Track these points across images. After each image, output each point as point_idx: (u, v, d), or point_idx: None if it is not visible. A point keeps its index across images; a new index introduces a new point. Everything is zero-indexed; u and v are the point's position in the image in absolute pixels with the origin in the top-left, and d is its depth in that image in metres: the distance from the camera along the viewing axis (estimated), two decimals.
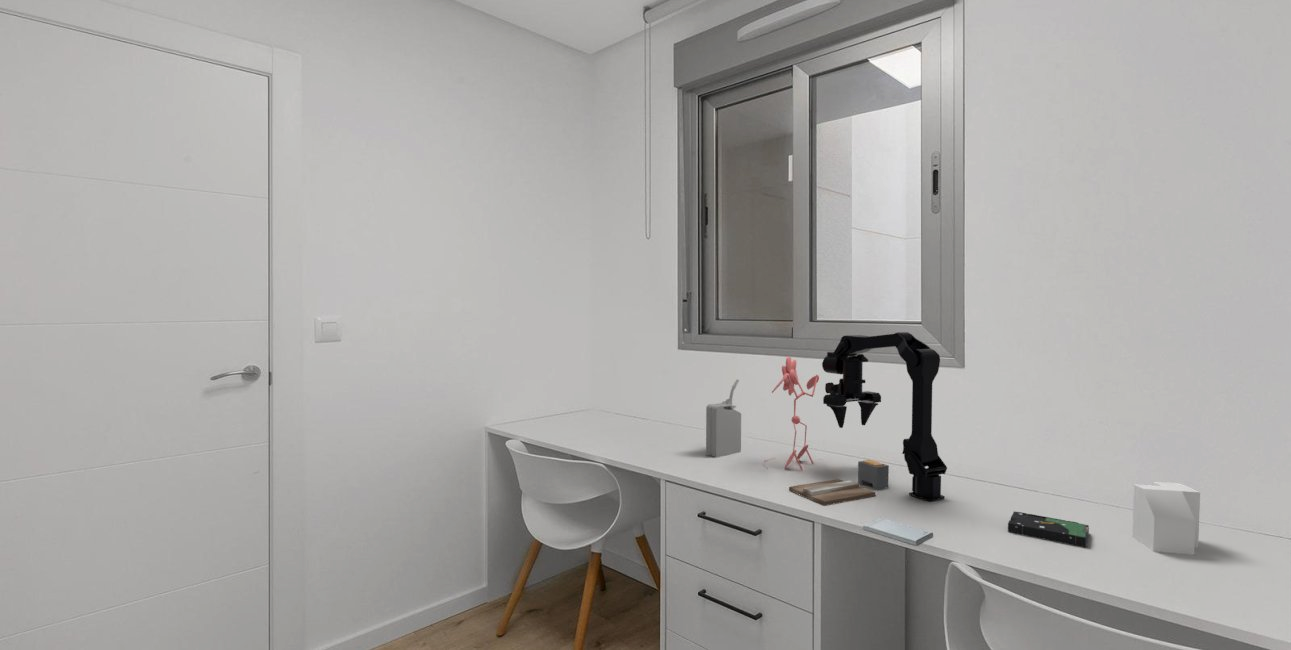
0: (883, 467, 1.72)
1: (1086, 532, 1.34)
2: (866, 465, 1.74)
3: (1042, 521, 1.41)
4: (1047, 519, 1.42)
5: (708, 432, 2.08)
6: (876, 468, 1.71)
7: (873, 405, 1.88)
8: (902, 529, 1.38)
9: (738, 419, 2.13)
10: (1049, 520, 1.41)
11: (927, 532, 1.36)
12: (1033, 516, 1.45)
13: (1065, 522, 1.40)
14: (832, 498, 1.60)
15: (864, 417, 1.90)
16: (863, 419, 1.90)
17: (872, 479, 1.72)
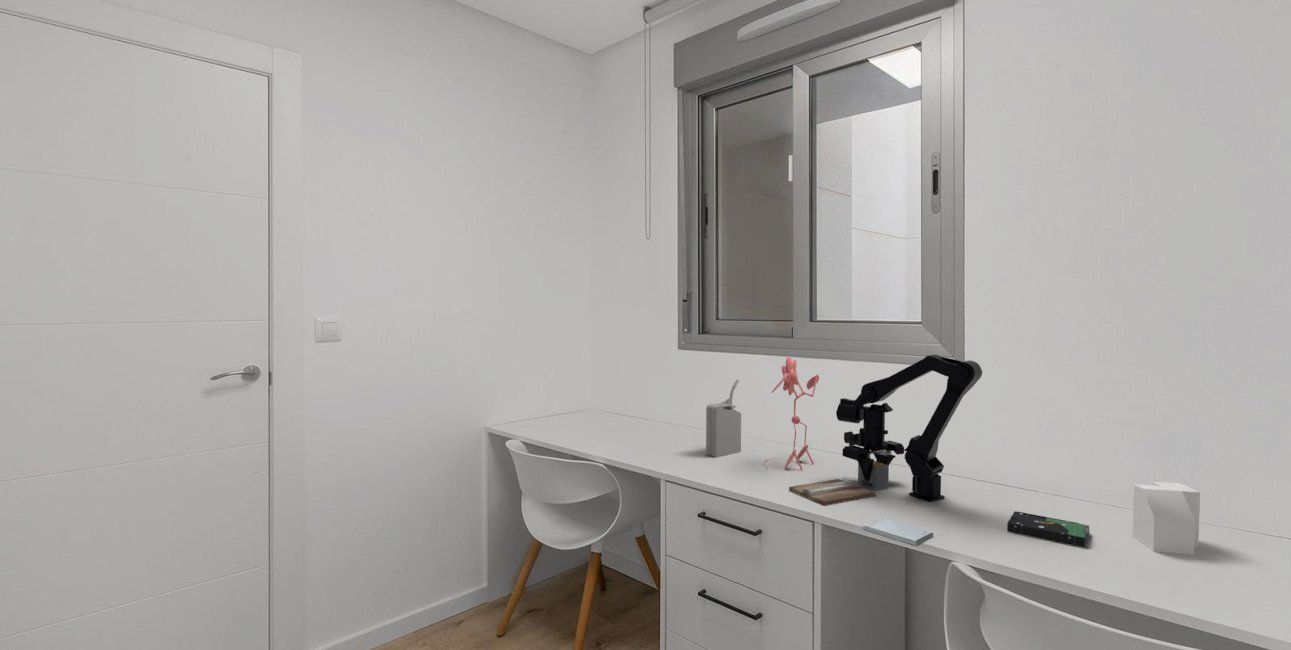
0: (883, 467, 1.72)
1: (1086, 532, 1.34)
2: None
3: (1042, 521, 1.41)
4: (1047, 519, 1.42)
5: (708, 432, 2.08)
6: (876, 468, 1.71)
7: (890, 458, 1.74)
8: (902, 529, 1.38)
9: (738, 419, 2.13)
10: (1049, 520, 1.41)
11: (927, 532, 1.36)
12: (1034, 516, 1.45)
13: (1065, 522, 1.40)
14: (832, 498, 1.60)
15: None
16: None
17: (872, 479, 1.72)
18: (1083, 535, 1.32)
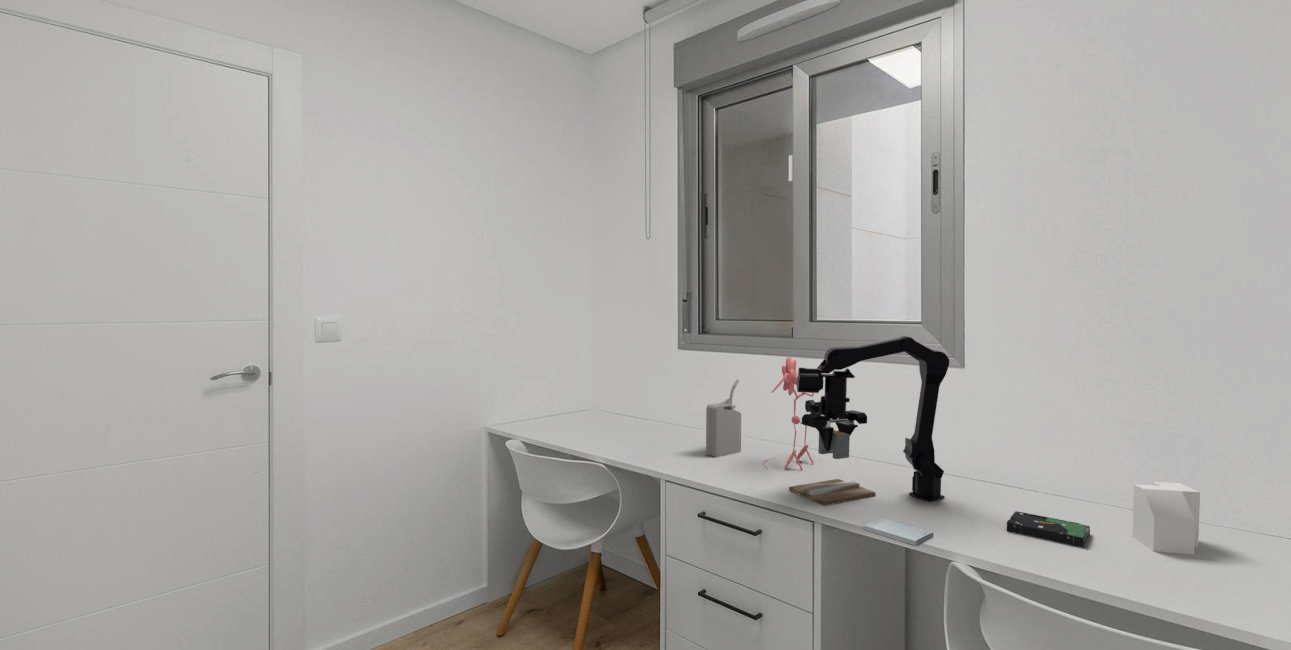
0: (843, 436, 1.65)
1: (1085, 533, 1.33)
2: None
3: (1042, 521, 1.41)
4: (1048, 519, 1.42)
5: (708, 432, 2.08)
6: (836, 437, 1.64)
7: (852, 427, 1.67)
8: (902, 530, 1.38)
9: (738, 419, 2.13)
10: (1050, 520, 1.41)
11: (927, 532, 1.36)
12: (1034, 516, 1.44)
13: (1066, 522, 1.40)
14: (832, 498, 1.60)
15: None
16: None
17: (832, 448, 1.65)
18: (1082, 535, 1.32)
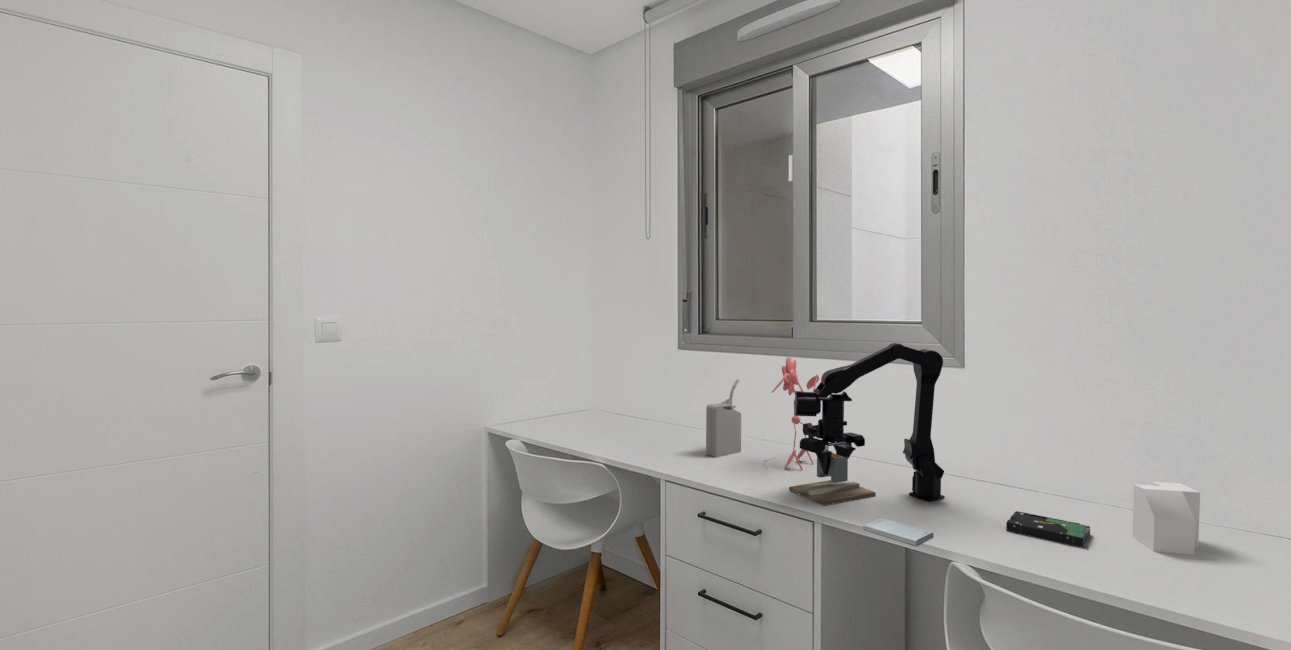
0: (842, 459, 1.64)
1: (1085, 533, 1.33)
2: None
3: (1042, 521, 1.41)
4: (1048, 519, 1.42)
5: (708, 432, 2.08)
6: (834, 460, 1.64)
7: (850, 450, 1.66)
8: (902, 530, 1.38)
9: (738, 419, 2.13)
10: (1050, 520, 1.41)
11: (927, 532, 1.36)
12: (1034, 516, 1.44)
13: (1066, 523, 1.40)
14: (832, 498, 1.60)
15: None
16: None
17: (830, 472, 1.65)
18: (1082, 535, 1.32)
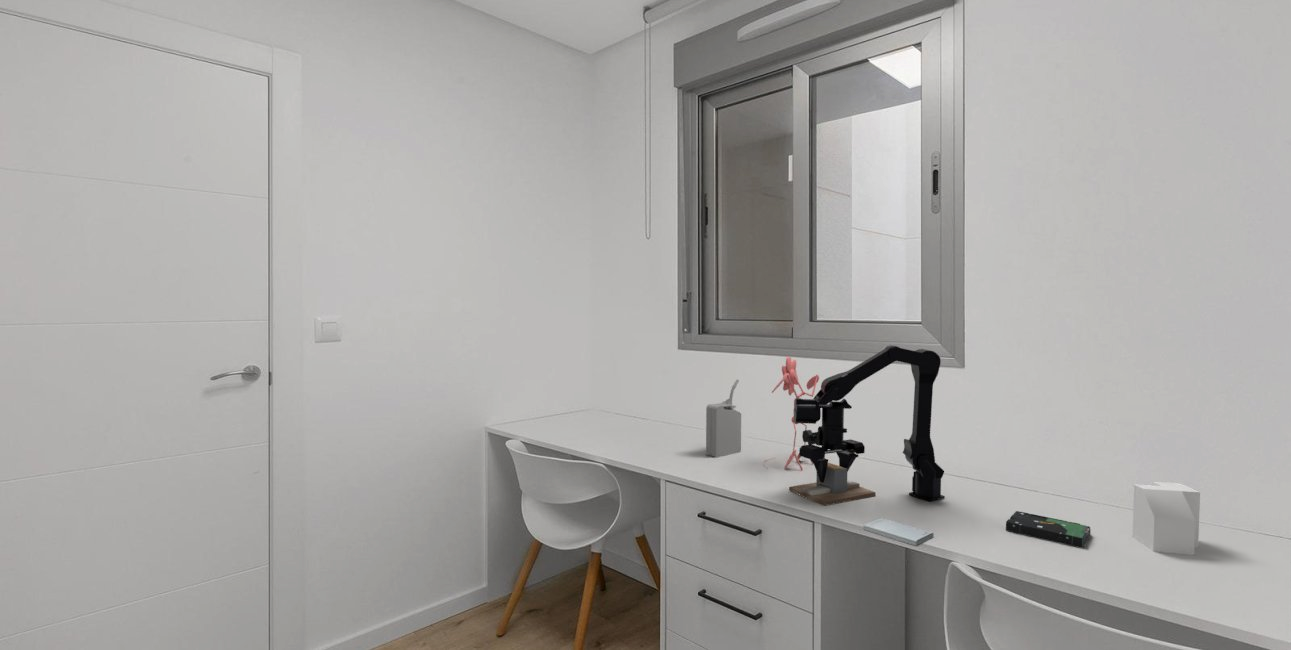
0: (841, 470, 1.64)
1: (1085, 533, 1.33)
2: None
3: (1042, 521, 1.41)
4: (1048, 519, 1.42)
5: (708, 432, 2.08)
6: (834, 471, 1.64)
7: (853, 457, 1.67)
8: (902, 530, 1.38)
9: (738, 419, 2.13)
10: (1050, 520, 1.41)
11: (927, 532, 1.36)
12: (1035, 516, 1.44)
13: (1066, 523, 1.40)
14: (832, 498, 1.60)
15: None
16: None
17: (830, 483, 1.65)
18: (1081, 535, 1.32)
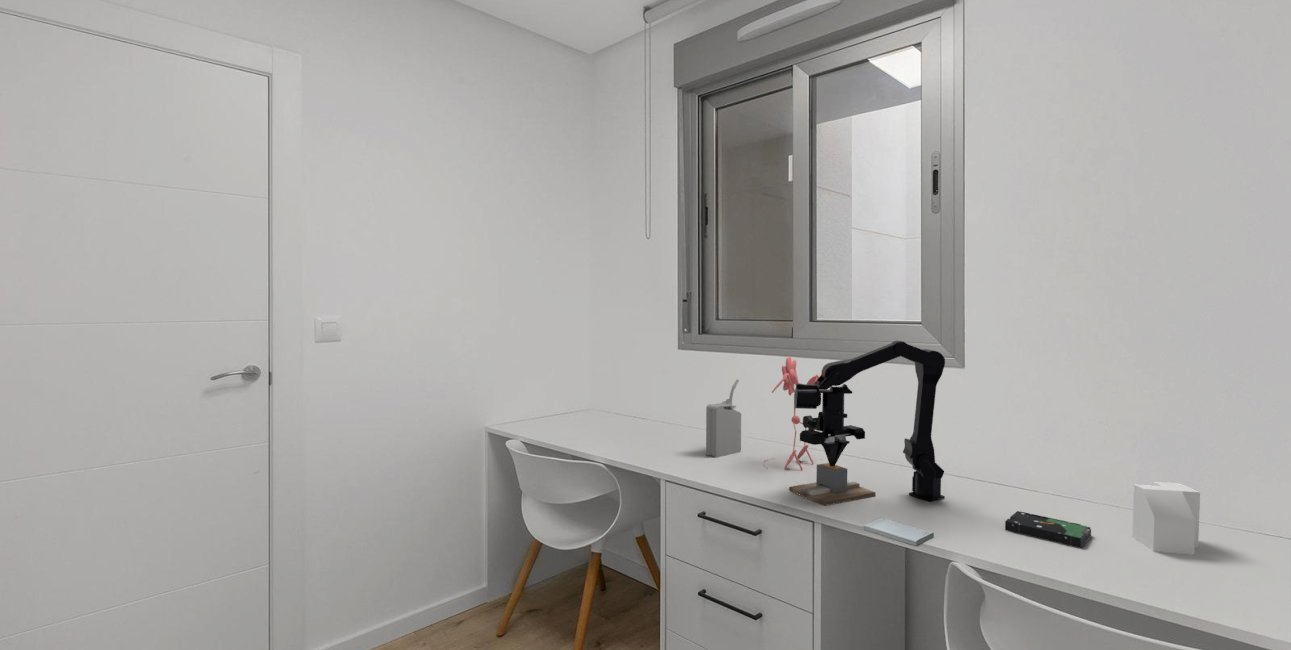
0: (841, 470, 1.64)
1: (1084, 533, 1.33)
2: (824, 468, 1.67)
3: (1042, 521, 1.41)
4: (1049, 520, 1.42)
5: (708, 432, 2.08)
6: (834, 471, 1.64)
7: (844, 444, 1.65)
8: (902, 530, 1.38)
9: (738, 419, 2.13)
10: (1050, 521, 1.41)
11: (928, 532, 1.36)
12: (1035, 516, 1.44)
13: (1067, 523, 1.39)
14: (832, 498, 1.60)
15: None
16: None
17: (830, 483, 1.65)
18: (1080, 536, 1.32)
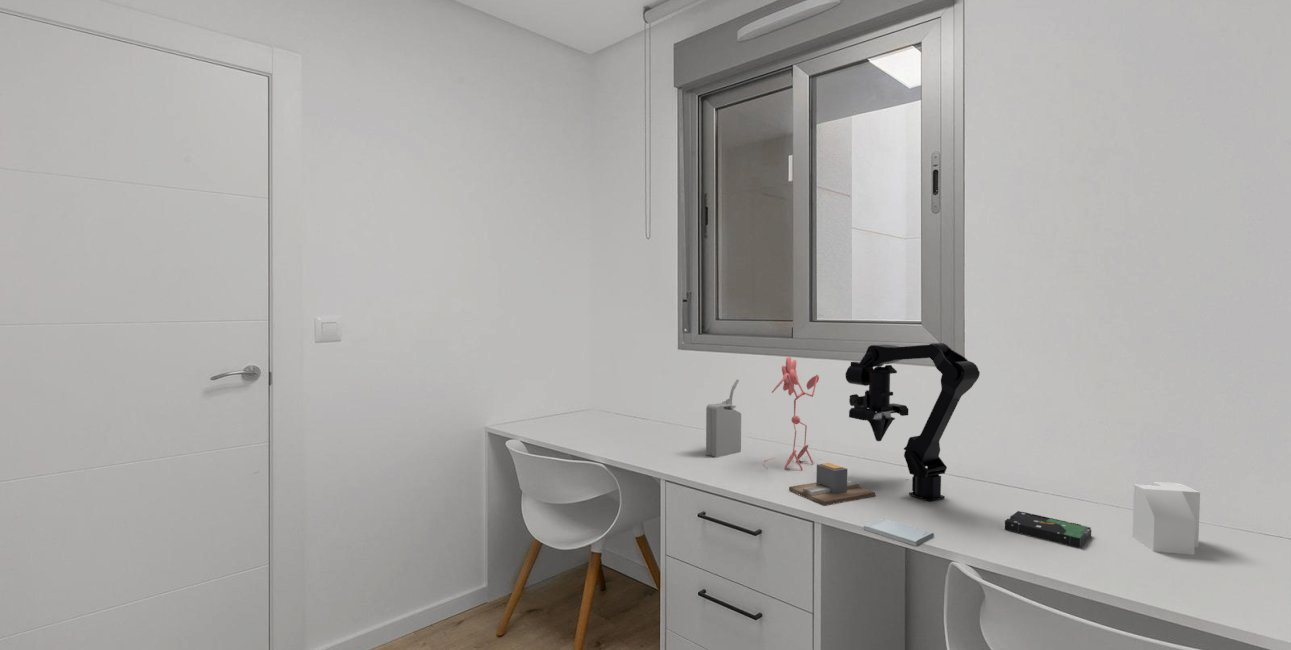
0: (841, 470, 1.64)
1: (1084, 533, 1.33)
2: (824, 468, 1.67)
3: (1042, 521, 1.41)
4: (1049, 520, 1.42)
5: (708, 432, 2.08)
6: (834, 471, 1.64)
7: (890, 420, 1.76)
8: (902, 530, 1.38)
9: (738, 419, 2.13)
10: (1050, 521, 1.41)
11: (928, 533, 1.36)
12: (1036, 516, 1.44)
13: (1067, 523, 1.39)
14: (832, 498, 1.60)
15: None
16: None
17: (830, 483, 1.65)
18: (1079, 536, 1.32)
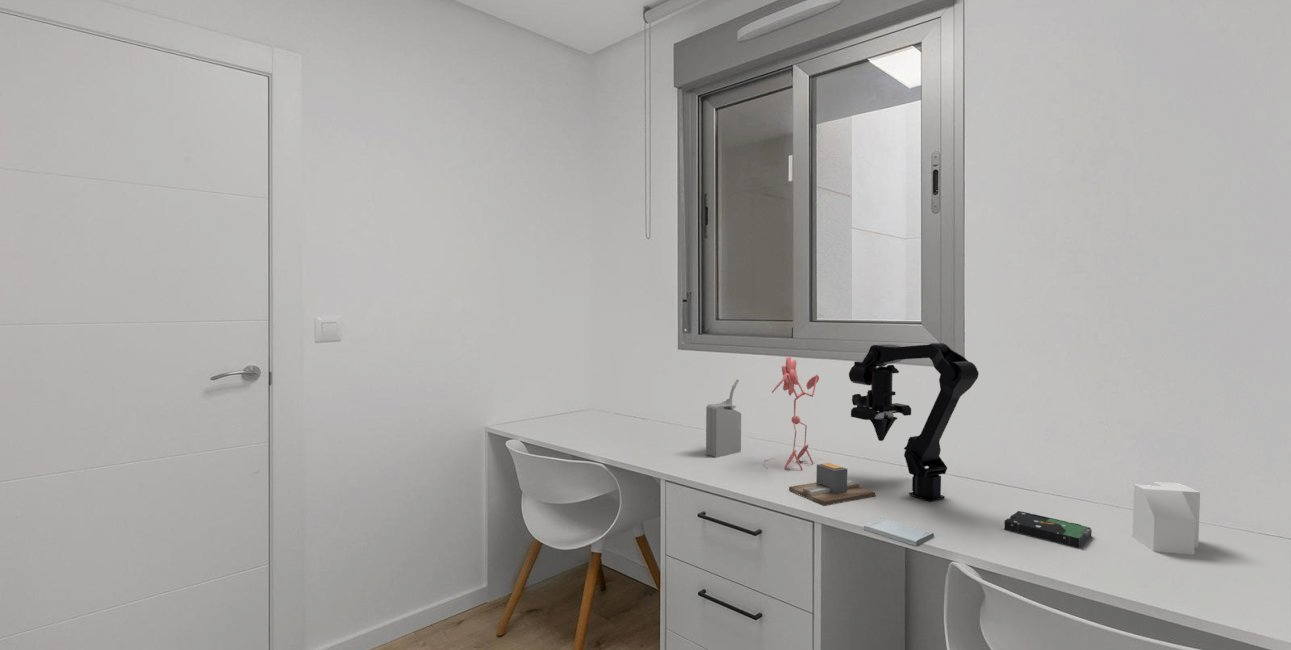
0: (841, 470, 1.64)
1: (1083, 533, 1.33)
2: (824, 468, 1.67)
3: (1042, 521, 1.41)
4: (1049, 520, 1.42)
5: (708, 432, 2.08)
6: (834, 471, 1.64)
7: (892, 419, 1.77)
8: (902, 530, 1.38)
9: (738, 419, 2.13)
10: (1051, 521, 1.41)
11: (928, 533, 1.36)
12: (1036, 516, 1.44)
13: (1067, 523, 1.39)
14: (832, 498, 1.60)
15: None
16: None
17: (830, 483, 1.65)
18: (1079, 536, 1.32)
